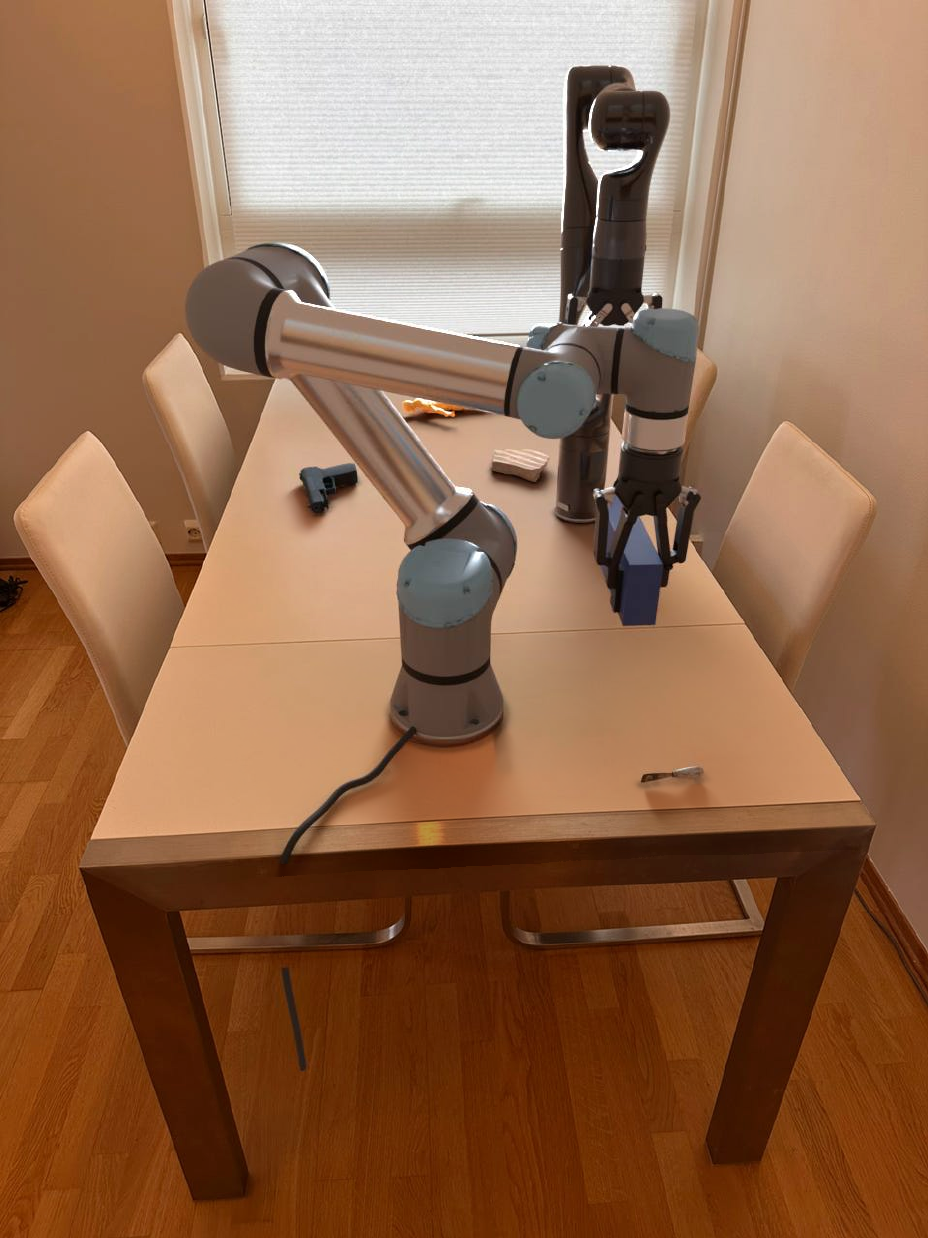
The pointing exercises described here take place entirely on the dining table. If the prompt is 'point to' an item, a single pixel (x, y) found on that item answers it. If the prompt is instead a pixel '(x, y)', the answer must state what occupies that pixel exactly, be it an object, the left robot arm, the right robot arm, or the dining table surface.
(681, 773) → the putty knife
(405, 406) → the human figure
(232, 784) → the dining table surface
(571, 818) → the dining table surface
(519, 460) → the stone
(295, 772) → the dining table surface
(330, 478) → the handgun
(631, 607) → the bar
